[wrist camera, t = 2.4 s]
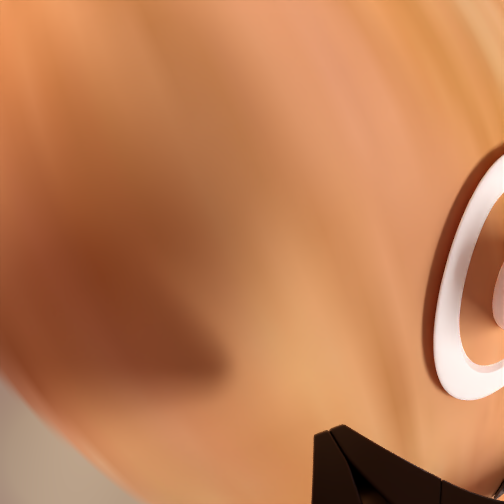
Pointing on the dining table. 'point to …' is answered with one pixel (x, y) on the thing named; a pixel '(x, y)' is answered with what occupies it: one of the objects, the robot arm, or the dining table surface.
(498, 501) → the robot arm
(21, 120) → the dining table surface
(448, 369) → the white ring with cylinder
